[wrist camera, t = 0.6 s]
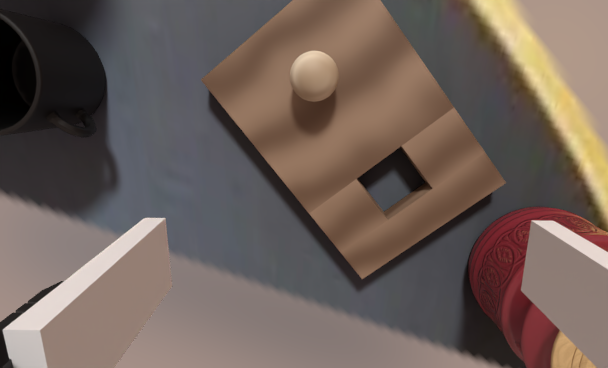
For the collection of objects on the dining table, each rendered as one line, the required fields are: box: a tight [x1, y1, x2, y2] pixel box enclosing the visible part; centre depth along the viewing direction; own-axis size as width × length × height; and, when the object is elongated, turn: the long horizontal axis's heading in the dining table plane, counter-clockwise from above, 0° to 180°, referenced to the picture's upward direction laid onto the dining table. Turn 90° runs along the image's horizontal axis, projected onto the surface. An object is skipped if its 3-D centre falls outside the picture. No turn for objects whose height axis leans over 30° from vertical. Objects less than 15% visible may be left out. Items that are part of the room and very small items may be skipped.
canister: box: [468, 207, 608, 368], centre depth 31 cm, size 13×13×18 cm
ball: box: [290, 51, 339, 102], centre depth 32 cm, size 4×4×4 cm
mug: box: [0, 9, 105, 137], centre depth 33 cm, size 9×12×9 cm
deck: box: [201, 0, 506, 279], centre depth 36 cm, size 24×16×2 cm, turn 38°
